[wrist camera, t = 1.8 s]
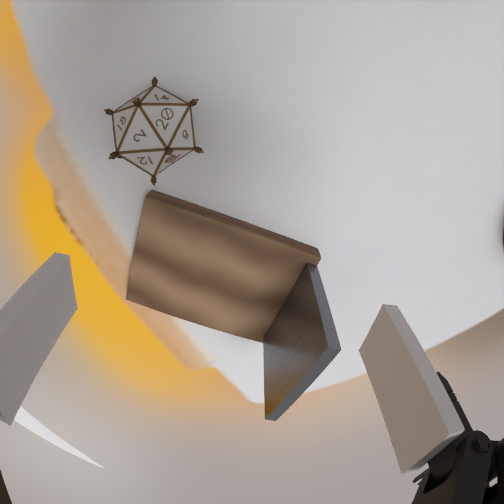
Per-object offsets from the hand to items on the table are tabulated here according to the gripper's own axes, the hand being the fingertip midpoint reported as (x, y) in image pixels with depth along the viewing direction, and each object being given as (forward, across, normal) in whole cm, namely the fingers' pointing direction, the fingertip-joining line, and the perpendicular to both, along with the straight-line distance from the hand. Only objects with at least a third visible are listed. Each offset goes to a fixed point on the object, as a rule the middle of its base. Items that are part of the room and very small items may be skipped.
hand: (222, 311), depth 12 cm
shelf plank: (+21, -1, -11) cm, 23 cm away
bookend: (+19, +8, -12) cm, 24 cm away
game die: (+20, -8, +5) cm, 22 cm away
